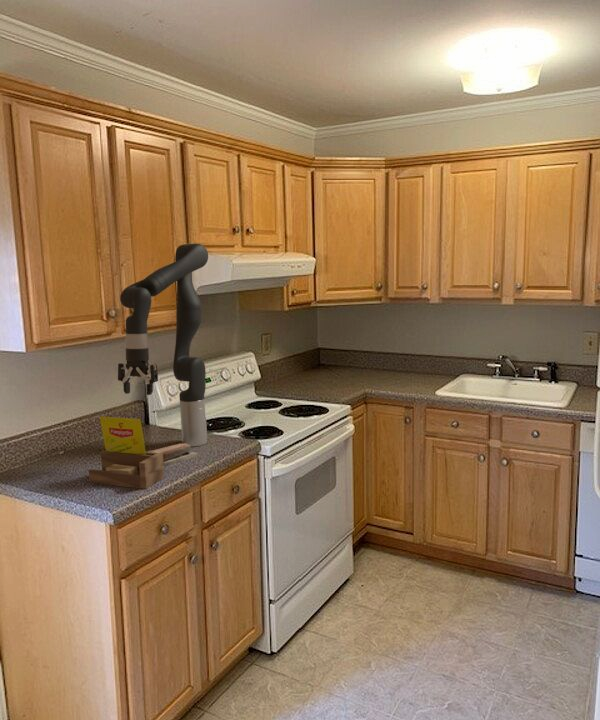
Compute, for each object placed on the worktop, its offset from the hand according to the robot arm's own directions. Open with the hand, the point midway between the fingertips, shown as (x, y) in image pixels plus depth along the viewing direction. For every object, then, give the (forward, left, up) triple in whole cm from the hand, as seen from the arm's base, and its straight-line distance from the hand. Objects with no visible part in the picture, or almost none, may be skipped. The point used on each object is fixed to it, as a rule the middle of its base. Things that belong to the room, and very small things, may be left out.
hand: (138, 394), depth 202 cm
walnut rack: (+17, +6, -24) cm, 30 cm away
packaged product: (-4, +8, -25) cm, 26 cm away
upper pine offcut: (+18, +5, -22) cm, 29 cm away
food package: (+13, +4, -24) cm, 28 cm away
